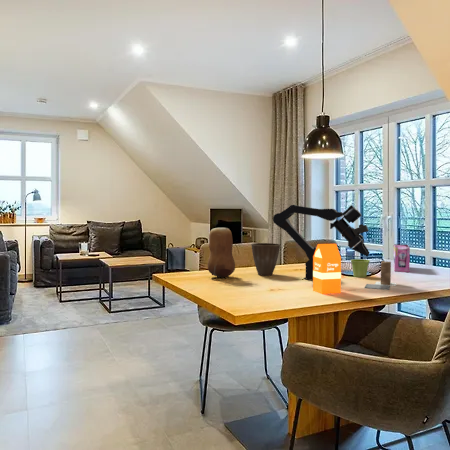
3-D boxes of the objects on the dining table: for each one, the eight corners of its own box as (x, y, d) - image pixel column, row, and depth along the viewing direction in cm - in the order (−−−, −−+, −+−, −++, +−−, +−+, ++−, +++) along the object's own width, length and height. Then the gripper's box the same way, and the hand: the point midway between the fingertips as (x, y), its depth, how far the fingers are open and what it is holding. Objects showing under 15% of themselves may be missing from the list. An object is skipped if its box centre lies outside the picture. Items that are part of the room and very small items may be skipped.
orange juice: (341, 292, 180) (341, 244, 180) (321, 294, 178) (322, 244, 177) (331, 289, 188) (331, 243, 187) (312, 290, 185) (313, 243, 185)
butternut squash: (225, 274, 229) (225, 226, 228) (240, 278, 218) (240, 227, 217) (202, 276, 221) (202, 227, 221) (216, 280, 210) (216, 228, 209)
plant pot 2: (370, 279, 217) (371, 261, 216) (350, 278, 218) (351, 261, 218) (368, 276, 226) (368, 259, 225) (349, 275, 228) (349, 258, 227)
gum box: (409, 272, 240) (410, 247, 239) (394, 271, 242) (394, 247, 242) (407, 267, 262) (407, 244, 262) (393, 266, 265) (393, 244, 264)
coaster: (364, 288, 190) (364, 287, 190) (366, 285, 199) (366, 283, 199) (389, 290, 186) (389, 289, 186) (390, 286, 195) (390, 285, 195)
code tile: (374, 285, 198) (374, 284, 198) (376, 282, 207) (376, 281, 207) (395, 286, 195) (395, 286, 195) (396, 283, 203) (396, 283, 203)
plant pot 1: (272, 272, 239) (272, 242, 238) (284, 276, 225) (285, 244, 224) (247, 273, 234) (247, 243, 234) (257, 277, 220) (258, 245, 220)
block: (380, 284, 199) (381, 262, 199) (381, 282, 204) (381, 261, 204) (390, 285, 198) (390, 262, 197) (390, 283, 202) (390, 261, 202)
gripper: (357, 218, 197) (381, 245, 194) (359, 218, 214) (382, 242, 211) (338, 235, 200) (362, 261, 197) (342, 233, 217) (364, 257, 214)
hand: (368, 254), depth 205 cm, fingers open, 9 cm apart
